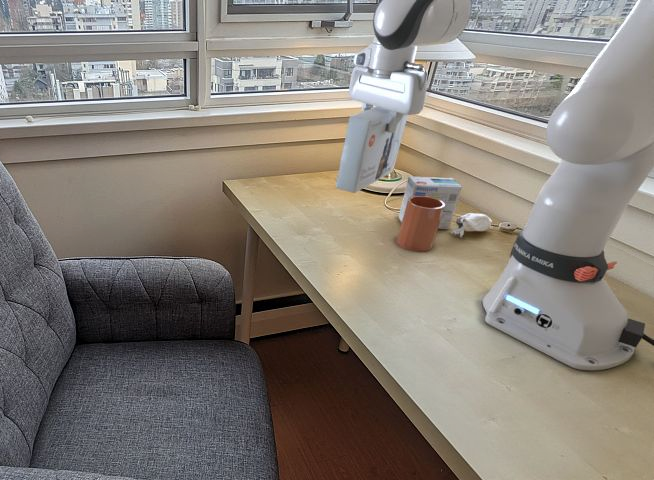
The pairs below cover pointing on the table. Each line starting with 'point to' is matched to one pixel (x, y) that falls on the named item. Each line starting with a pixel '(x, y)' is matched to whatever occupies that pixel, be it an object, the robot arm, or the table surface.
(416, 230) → the pen cup
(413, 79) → the robot arm
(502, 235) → the table surface
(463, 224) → the bird figurine
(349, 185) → the skincare box
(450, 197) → the light bulb box
